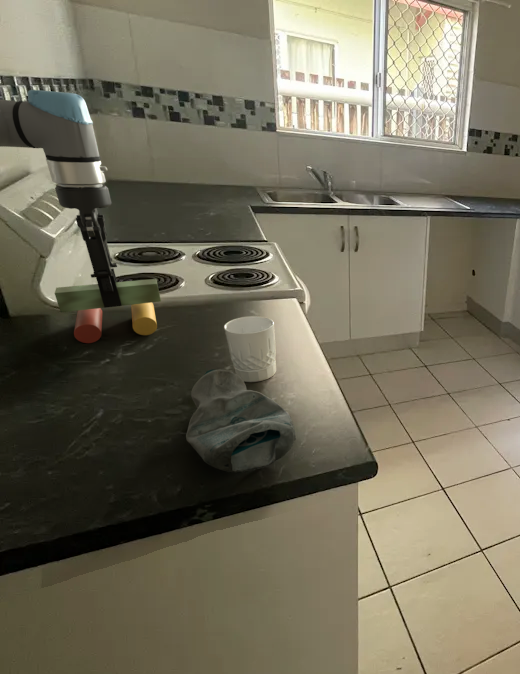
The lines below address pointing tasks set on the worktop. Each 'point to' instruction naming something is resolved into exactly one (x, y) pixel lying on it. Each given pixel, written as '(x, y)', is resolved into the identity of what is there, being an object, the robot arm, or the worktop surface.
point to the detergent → (237, 424)
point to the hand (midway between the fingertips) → (113, 302)
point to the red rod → (88, 325)
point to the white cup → (252, 347)
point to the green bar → (91, 297)
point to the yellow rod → (143, 318)
